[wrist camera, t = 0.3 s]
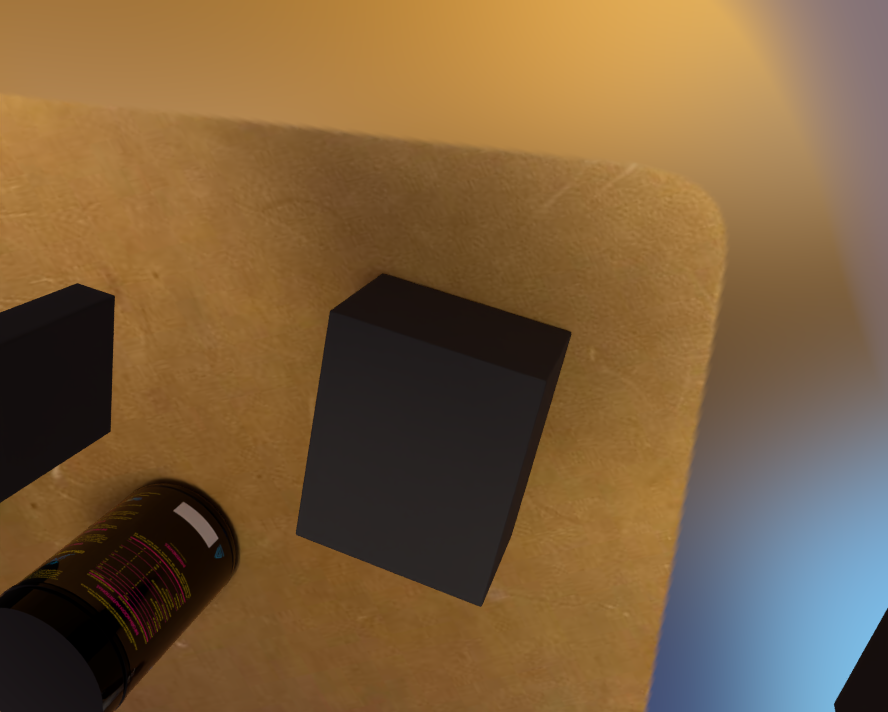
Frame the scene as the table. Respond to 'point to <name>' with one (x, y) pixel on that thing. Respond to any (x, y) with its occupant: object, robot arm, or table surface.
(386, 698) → the table surface
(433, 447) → the top pad
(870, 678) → the robot arm
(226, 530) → the supplement container
